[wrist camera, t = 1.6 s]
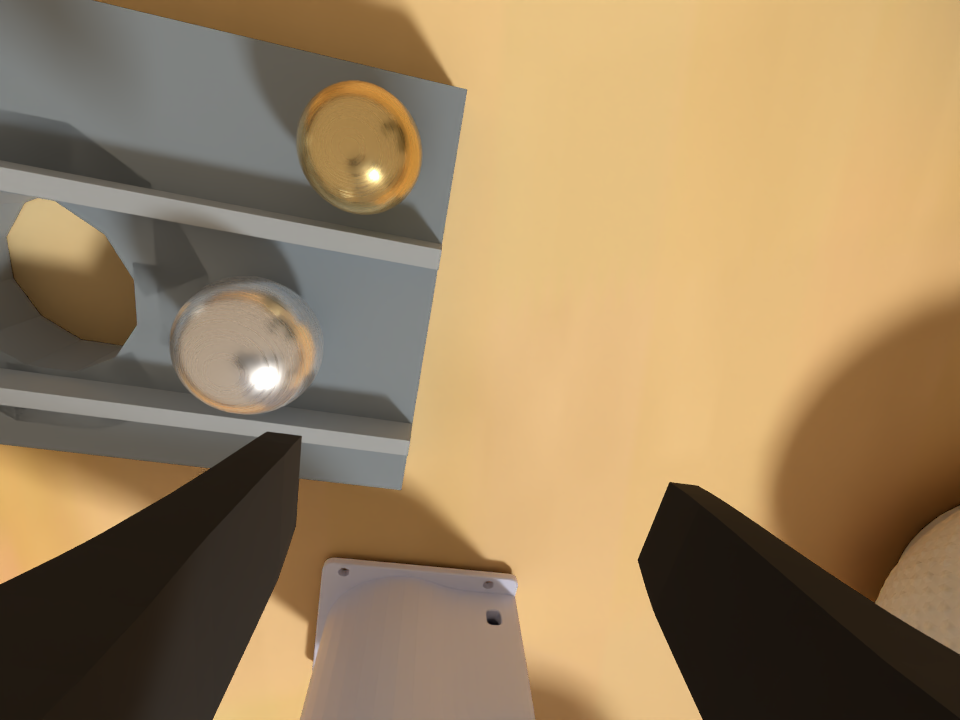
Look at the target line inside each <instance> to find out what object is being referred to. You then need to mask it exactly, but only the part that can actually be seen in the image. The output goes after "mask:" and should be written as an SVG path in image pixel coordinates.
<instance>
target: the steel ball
mask: <svg viewBox="0 0 960 720" xmlns="http://www.w3.org/2000/svg"><path fill="white" fill-rule="evenodd" d="M323 350H324V341H323V334H322V330H321V327H320V324H319V322H318V319H317V317H316V315H315V313H314V312H313V310H312V309H311V307H310V306H309V305H308V303H307V302H306V301H305V300H304V299H303V298H302V297H301V296H299V295H298V294H297V293H296V292H294V291H293V290H291V289H290V288H288V287H286V286H284V285H282V284H280V283H278V282H275V281H272V280H270V279H266V278H262V277H255V276H236V277H229V278H225V279H222V280H218V281H215V282H213V283H211V284H208V285H206V286H205V287H203V288H202V289H200V290H198V291H197V292H195V293H194V294H193V295H192V296H191V297H190V298H189V299H188V300H187V301H186V302H185V303H184V305H183V306H182V307H181V308H180V310H179V311H178V313H177V315H176V317H175V319H174V322H173V325H172V327H171V332H170V340H169V351H170V357H171V361H172V364H173V367H174V369H175V372H176V374H177V375H178V377H179V379H180V381H181V382H182V383H183V385H184V386H185V387H186V388H187V389H188V390H189V391H190V392H191V393H192V394H193V395H194V396H195V397H196V398H198V399H199V400H201V401H202V402H204V403H205V404H207V405H209V406H211V407H214V408H216V409H219V410H222V411H225V412H229V413H234V414H244V415H248V414H260V413H266V412H270V411H273V410H276V409H279V408H281V407H283V406H286V405H287V404H289V403H291V402H292V401H294V400H295V399H297V398H298V397H299V396H300V395H302V394H303V393H304V392H305V390H306V389H307V388H308V387H309V386H310V385H311V383H312V382H313V380H314V379H315V377H316V375H317V373H318V371H319V369H320V366H321V362H322V358H323Z"/></svg>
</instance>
